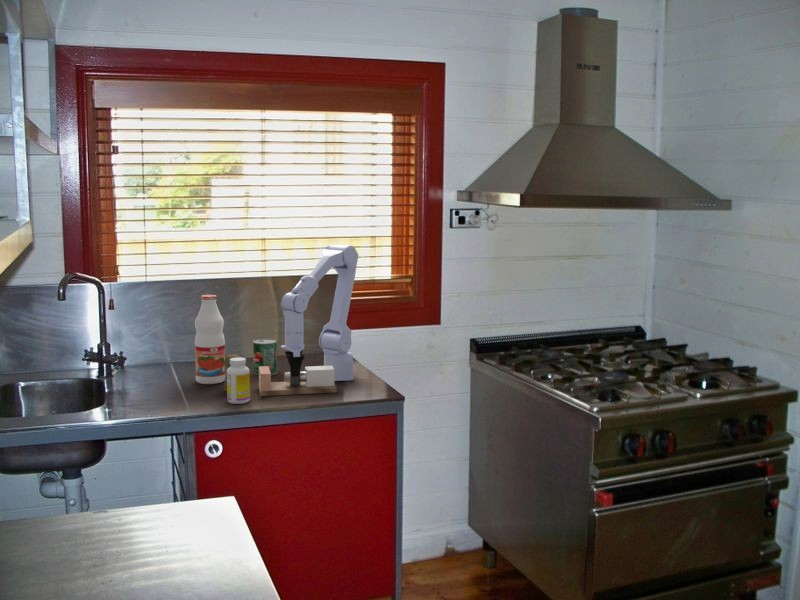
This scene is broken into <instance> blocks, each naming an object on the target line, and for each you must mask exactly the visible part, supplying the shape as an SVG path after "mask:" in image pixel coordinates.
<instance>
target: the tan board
mask: <svg viewBox="0 0 800 600" xmlns="http://www.w3.org/2000/svg"><path fill="white" fill-rule="evenodd" d="M257 384H258V388H257V389H258V391H259V396H260V397H266V396H267V397H268V396H269V397H270V396H283V395H284V396H285V395H288V396H290V395H303V394H304V395H306V394H307V395H310V394H328V393H337V392H338V389H337V388H338V387H337V386H336V384H335V383H334V386H316V387H307V386H306V384H305V382H300V385H299V386H290V383H285V381H271V391H261V389H260V385H259V382H258V383H257Z"/></svg>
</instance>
